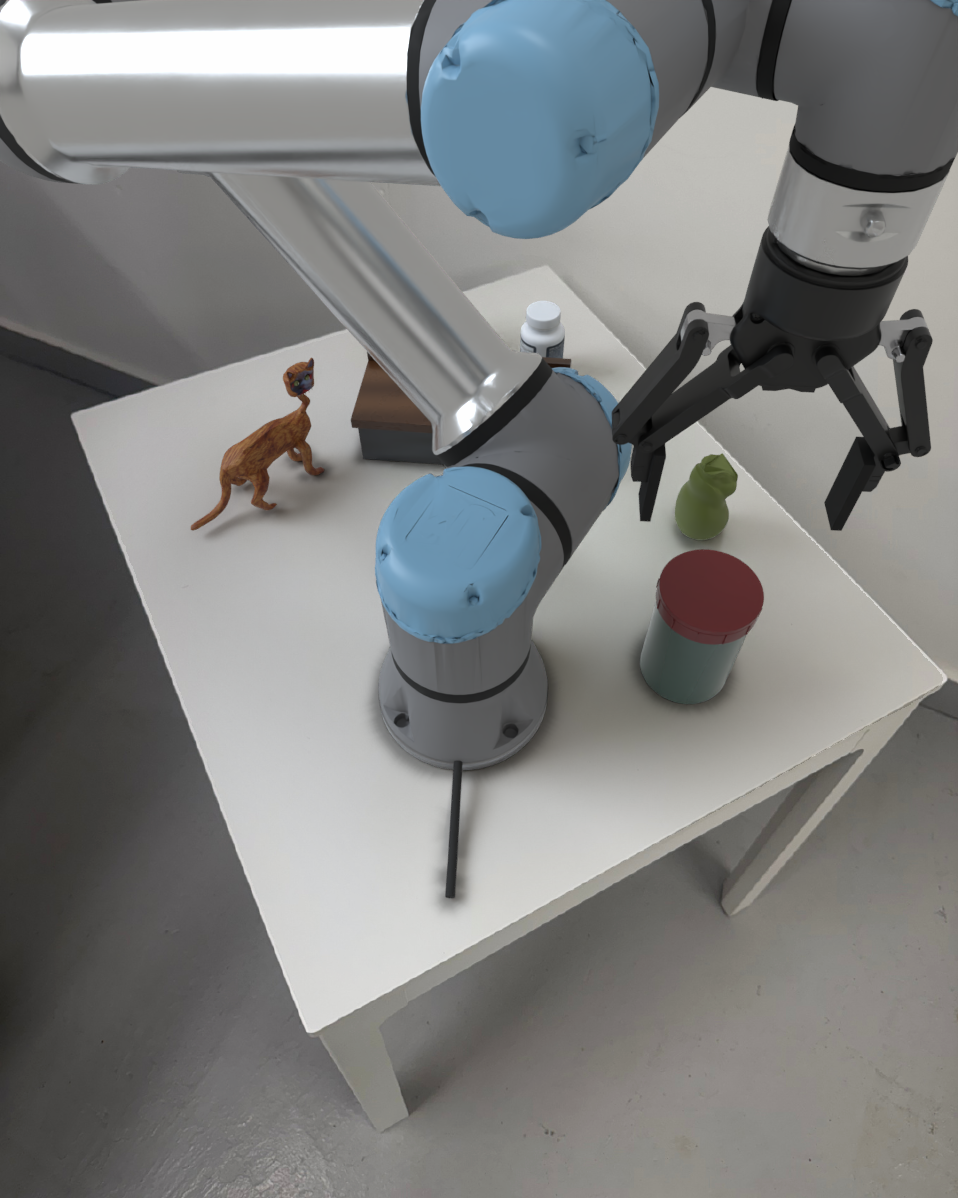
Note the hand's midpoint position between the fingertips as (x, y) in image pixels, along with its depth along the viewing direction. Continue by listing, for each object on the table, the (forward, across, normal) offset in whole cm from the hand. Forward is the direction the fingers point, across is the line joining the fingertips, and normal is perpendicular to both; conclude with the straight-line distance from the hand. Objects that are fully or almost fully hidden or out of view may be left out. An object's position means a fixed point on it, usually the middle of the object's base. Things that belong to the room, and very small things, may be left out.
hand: (737, 512), depth 60 cm
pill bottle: (+21, -14, +41) cm, 48 cm away
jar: (+21, 0, 0) cm, 21 cm away
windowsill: (+21, -23, +29) cm, 43 cm away
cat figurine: (+21, -44, +19) cm, 52 cm away
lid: (+9, 0, 0) cm, 9 cm away
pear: (+21, +3, +16) cm, 27 cm away
